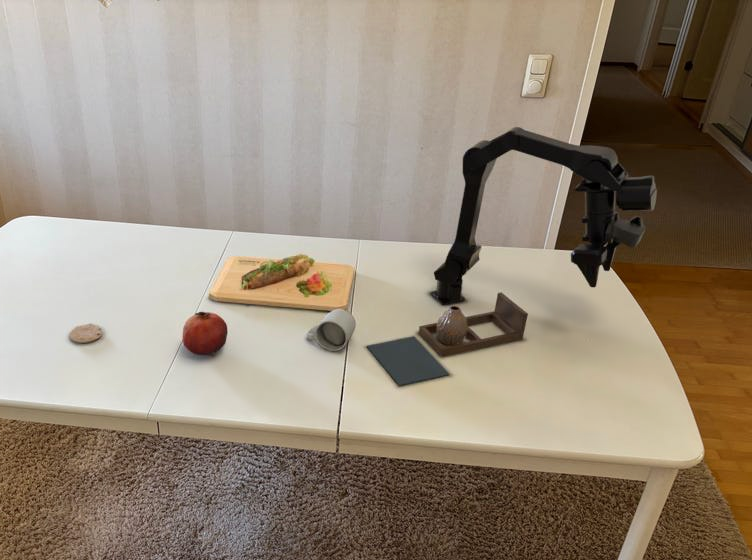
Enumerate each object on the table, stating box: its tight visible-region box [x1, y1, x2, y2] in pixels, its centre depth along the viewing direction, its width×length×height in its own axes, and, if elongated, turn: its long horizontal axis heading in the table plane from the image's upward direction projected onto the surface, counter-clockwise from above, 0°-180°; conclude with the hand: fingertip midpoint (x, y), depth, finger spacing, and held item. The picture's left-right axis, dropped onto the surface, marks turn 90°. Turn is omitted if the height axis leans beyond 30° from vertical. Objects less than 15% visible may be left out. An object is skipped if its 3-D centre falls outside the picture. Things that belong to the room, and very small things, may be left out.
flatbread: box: [69, 322, 103, 343], centre depth 171 cm, size 8×8×1 cm
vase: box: [436, 305, 469, 346], centre depth 165 cm, size 7×7×9 cm
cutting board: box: [208, 253, 355, 312], centre depth 188 cm, size 35×23×8 cm
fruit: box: [181, 311, 229, 356], centre depth 163 cm, size 11×10×10 cm
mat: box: [366, 336, 450, 387], centre depth 161 cm, size 16×12×1 cm
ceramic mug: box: [306, 309, 357, 352], centre depth 166 cm, size 11×8×8 cm
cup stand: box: [418, 291, 529, 358], centre depth 167 cm, size 11×21×7 cm, turn 109°
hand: (600, 278), depth 160 cm, fingers open, 9 cm apart
